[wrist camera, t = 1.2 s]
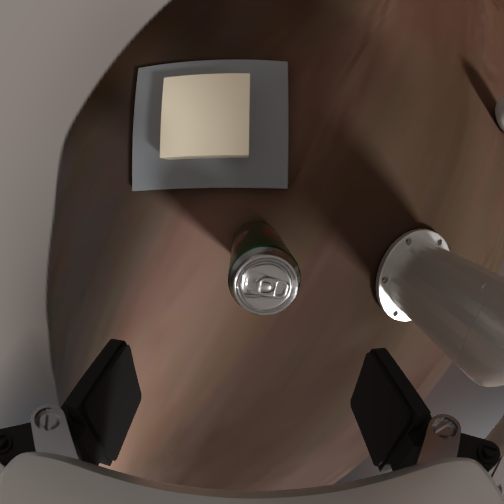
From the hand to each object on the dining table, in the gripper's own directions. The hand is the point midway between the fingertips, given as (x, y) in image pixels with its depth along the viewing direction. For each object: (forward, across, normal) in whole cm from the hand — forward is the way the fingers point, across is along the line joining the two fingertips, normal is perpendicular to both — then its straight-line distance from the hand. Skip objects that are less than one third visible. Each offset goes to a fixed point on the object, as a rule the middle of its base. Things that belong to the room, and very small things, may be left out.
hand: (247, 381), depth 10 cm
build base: (+20, +5, -13) cm, 25 cm away
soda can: (+21, -1, 0) cm, 21 cm away
